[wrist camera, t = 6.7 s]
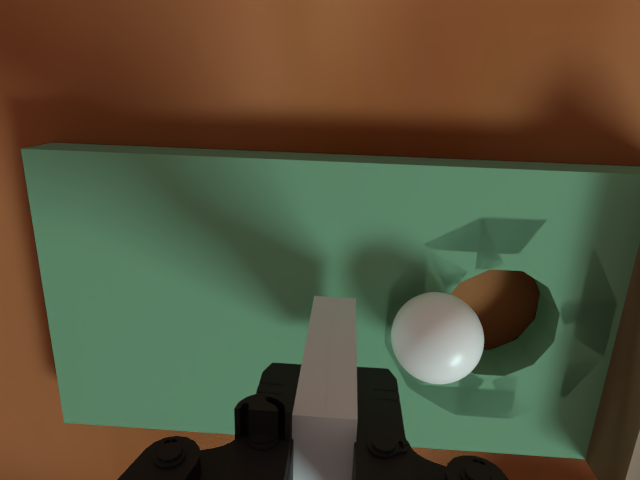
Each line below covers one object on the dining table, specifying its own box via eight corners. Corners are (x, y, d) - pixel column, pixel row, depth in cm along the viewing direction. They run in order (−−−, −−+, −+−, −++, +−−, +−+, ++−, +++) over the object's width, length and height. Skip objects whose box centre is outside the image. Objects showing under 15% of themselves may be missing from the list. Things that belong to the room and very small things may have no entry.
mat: (88, 394, 23) (64, 422, 21) (53, 142, 19) (20, 148, 17) (598, 429, 22) (622, 461, 20) (665, 167, 18) (702, 176, 16)
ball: (369, 373, 18) (444, 416, 15) (375, 292, 17) (456, 326, 14) (422, 345, 20) (494, 379, 17) (429, 272, 19) (507, 298, 16)
